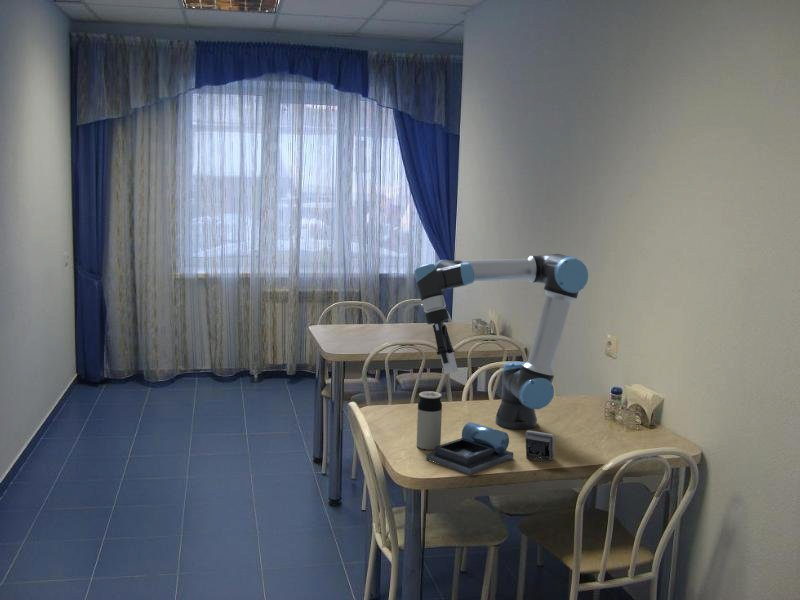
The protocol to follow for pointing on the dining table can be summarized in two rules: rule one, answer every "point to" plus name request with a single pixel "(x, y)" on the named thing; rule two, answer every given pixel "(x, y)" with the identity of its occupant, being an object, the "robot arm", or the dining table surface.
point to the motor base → (473, 450)
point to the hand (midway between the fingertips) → (451, 372)
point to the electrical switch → (540, 446)
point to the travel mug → (429, 420)
